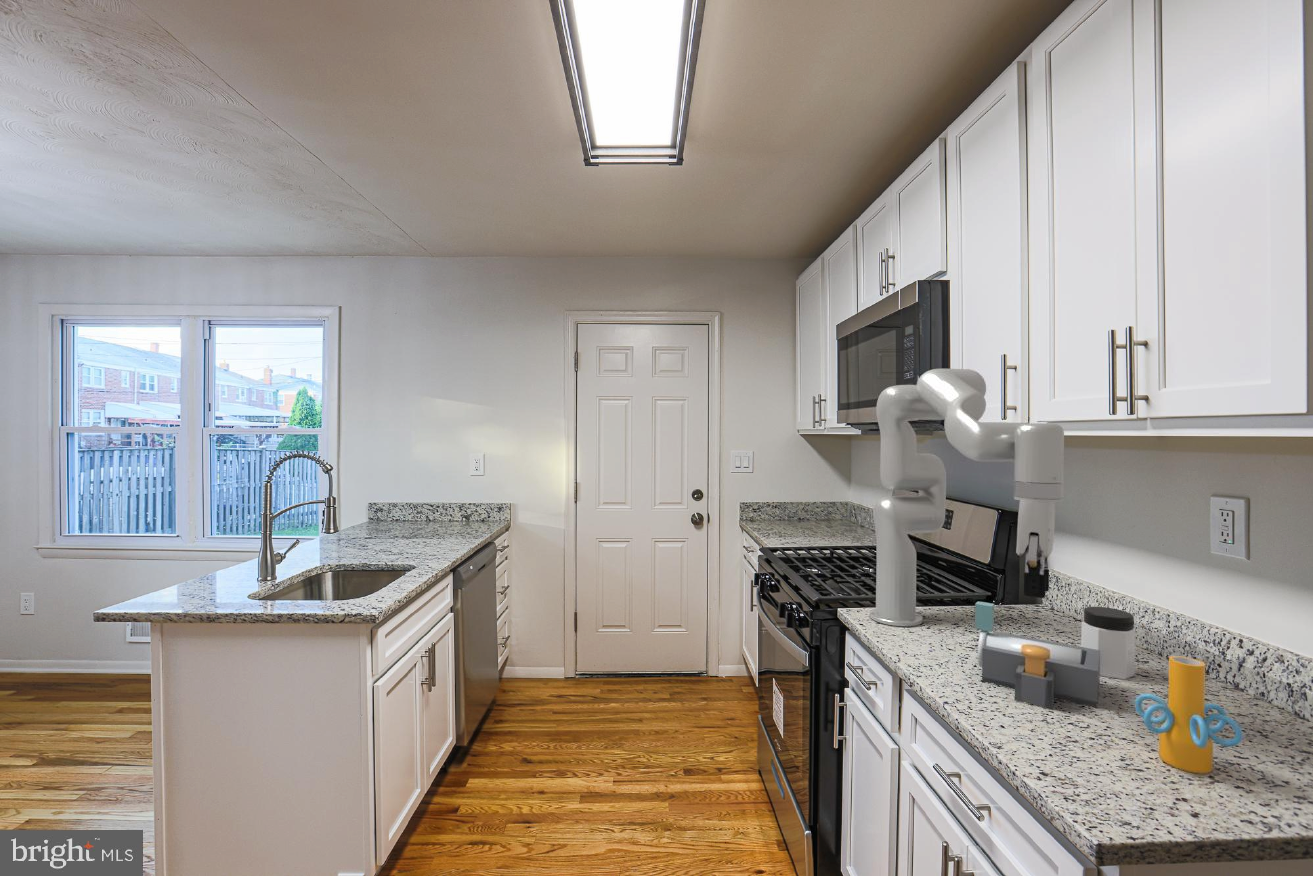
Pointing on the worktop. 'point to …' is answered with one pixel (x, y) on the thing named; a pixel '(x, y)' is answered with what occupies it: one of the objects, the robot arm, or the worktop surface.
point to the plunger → (1035, 659)
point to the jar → (1110, 640)
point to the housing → (1059, 675)
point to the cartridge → (986, 624)
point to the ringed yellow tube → (1187, 719)
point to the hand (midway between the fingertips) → (1036, 592)
